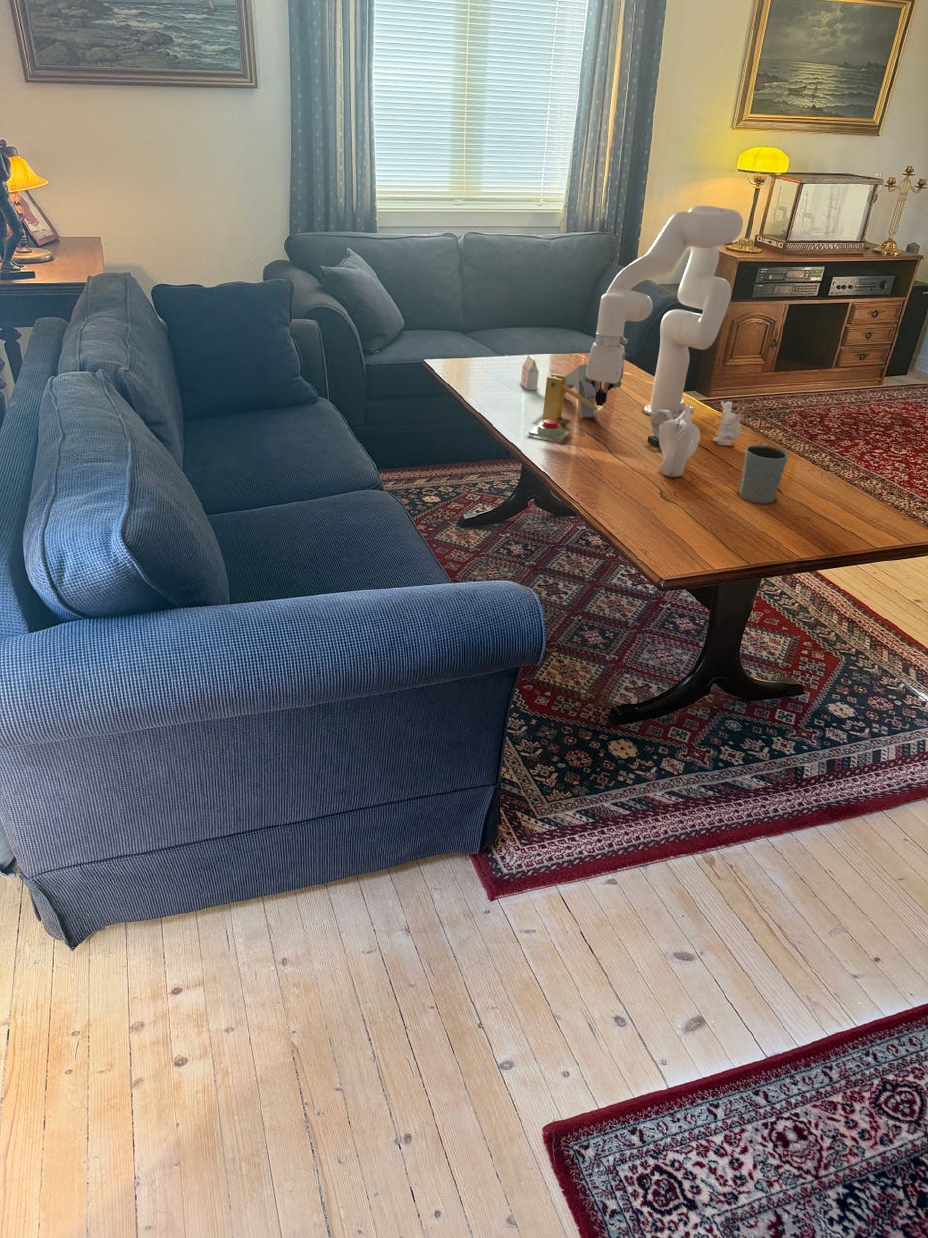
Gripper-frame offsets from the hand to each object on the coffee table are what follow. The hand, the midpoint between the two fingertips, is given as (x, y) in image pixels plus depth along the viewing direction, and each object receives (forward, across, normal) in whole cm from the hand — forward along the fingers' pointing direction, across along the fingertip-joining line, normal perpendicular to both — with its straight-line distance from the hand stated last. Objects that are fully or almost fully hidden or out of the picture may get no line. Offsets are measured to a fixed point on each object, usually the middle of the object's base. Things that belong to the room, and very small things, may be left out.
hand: (600, 404), depth 245 cm
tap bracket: (+8, +14, 0) cm, 16 cm away
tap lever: (0, +8, 0) cm, 8 cm away
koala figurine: (+8, -36, -10) cm, 38 cm away
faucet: (+8, +13, -16) cm, 22 cm away
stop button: (+5, +10, +14) cm, 18 cm away
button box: (+8, +10, +14) cm, 19 cm away
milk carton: (+8, +33, -31) cm, 46 cm away
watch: (+8, -20, +5) cm, 22 cm away
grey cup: (+8, -50, +27) cm, 57 cm away
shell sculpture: (+8, -28, +24) cm, 38 cm away
